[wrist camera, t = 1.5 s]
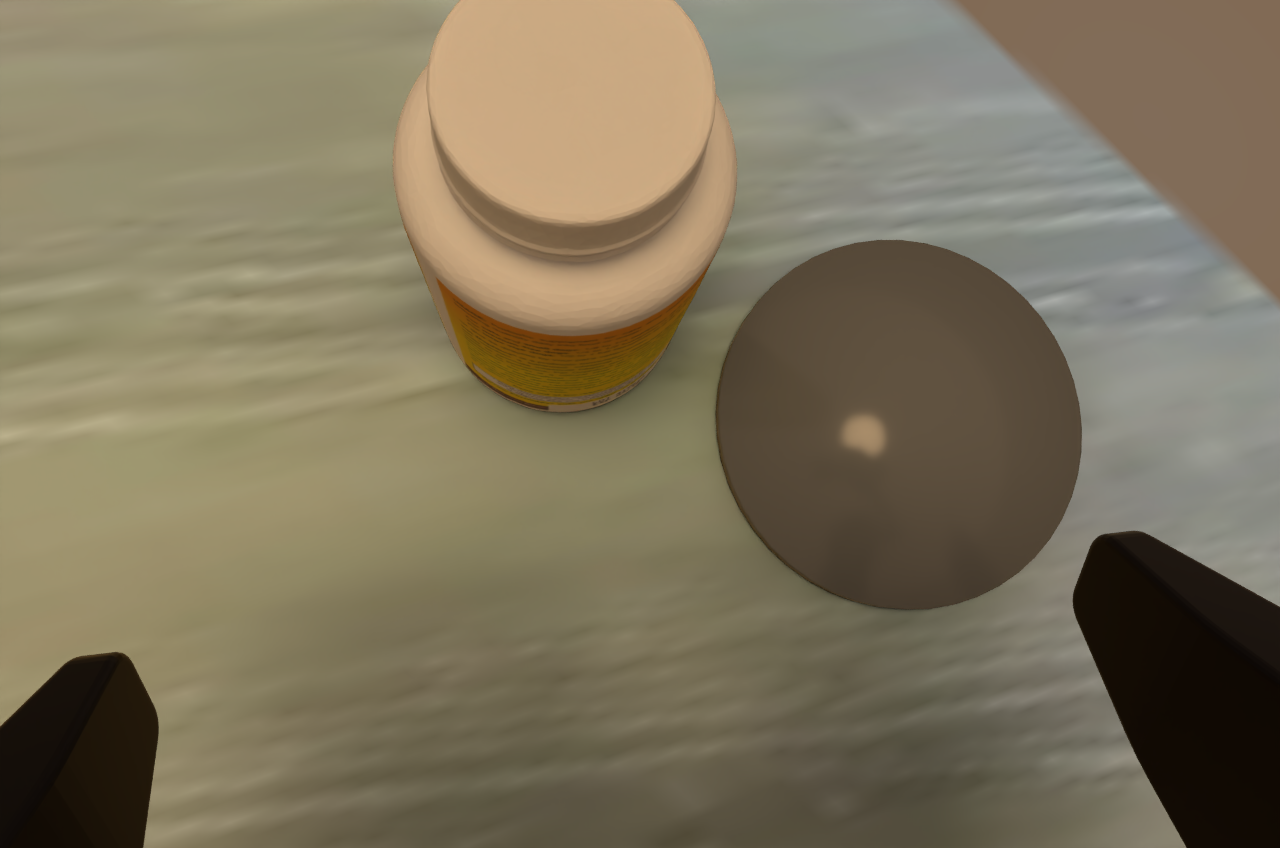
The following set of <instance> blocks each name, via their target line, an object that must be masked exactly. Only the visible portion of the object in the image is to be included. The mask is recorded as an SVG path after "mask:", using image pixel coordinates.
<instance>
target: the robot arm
mask: <svg viewBox="0 0 1280 848" xmlns="http://www.w3.org/2000/svg"><path fill="white" fill-rule="evenodd" d="M1073 608H1074V613H1075V616H1076V619H1077V621H1078V624H1079V626H1080V628H1081V631H1082V633H1083V635H1084V638H1085V640H1086V642H1087V645H1088V647H1089V649H1090V652H1091V654H1092V656H1093V659H1094V661H1095V663H1096V666H1097V668H1098V670H1099V673H1100V675H1101V677H1102V680H1103V682H1104V684H1105V687H1106V689H1107V691H1108V693H1109V696H1110V698H1111V700H1112V703H1113V705H1114V707H1115V710H1116V712H1117V714H1118V717H1119V719H1120V721H1121V724H1122V726H1123V728H1124V731H1125V733H1126V735H1127V737H1128V739H1129V742H1130V744H1131V746H1132V748H1133V750H1134V752H1135V754H1136V756H1137V758H1138V760H1139V762H1140V764H1141V766H1142V768H1143V770H1144V772H1145V774H1146V775H1147V777H1148V779H1149V781H1150V783H1151V785H1152V786H1153V788H1154V790H1155V792H1156V794H1157V795H1158V797H1159V799H1160V801H1161V803H1162V804H1163V806H1164V808H1165V810H1166V812H1167V813H1168V815H1169V817H1170V819H1171V821H1172V822H1173V824H1174V826H1175V828H1176V830H1177V831H1178V833H1179V835H1180V837H1181V839H1182V840H1183V842H1184V844H1185V846H1186V848H1280V607H1279V606H1277V605H1275V604H1274V603H1272V602H1270V601H1268V600H1266V599H1265V598H1263V597H1261V596H1259V595H1257V594H1256V593H1254V592H1252V591H1250V590H1248V589H1246V588H1245V587H1243V586H1241V585H1239V584H1237V583H1236V582H1234V581H1232V580H1230V579H1228V578H1226V577H1225V576H1223V575H1221V574H1219V573H1217V572H1216V571H1214V570H1212V569H1210V568H1208V567H1206V566H1205V565H1203V564H1201V563H1199V562H1197V561H1196V560H1194V559H1192V558H1190V557H1188V556H1187V555H1185V554H1183V553H1181V552H1179V551H1177V550H1176V549H1174V548H1172V547H1170V546H1168V545H1167V544H1165V543H1163V542H1161V541H1159V540H1157V539H1156V538H1154V537H1152V536H1150V535H1148V534H1146V533H1144V532H1140V531H1126V532H1118V533H1109V534H1103V535H1100V536H1098V537H1097V538H1096V539H1095V540H1094V541H1093V542H1092V544H1091V546H1090V549H1089V552H1088V554H1087V557H1086V560H1085V562H1084V565H1083V568H1082V570H1081V573H1080V576H1079V578H1078V581H1077V584H1076V586H1075V589H1074V593H1073ZM158 734H159V725H158V717H157V713H156V710H155V707H154V705H153V703H152V701H151V699H150V697H149V695H148V693H147V691H146V689H145V687H144V685H143V683H142V681H141V679H140V677H139V675H138V673H137V671H136V669H135V667H134V665H133V663H132V661H131V660H130V658H129V657H128V656H126V655H125V654H123V653H119V652H112V653H103V654H95V655H87V656H79V657H76V658H73V659H71V660H70V661H68V662H67V663H65V664H64V665H63V666H62V667H61V668H60V669H59V670H58V671H57V672H56V673H55V674H54V675H53V676H52V677H51V678H50V679H49V680H48V681H46V682H45V683H44V684H43V685H42V686H41V687H40V688H39V689H38V690H37V691H36V692H35V693H34V694H33V695H32V696H31V697H30V698H29V699H28V700H27V701H26V702H25V703H24V704H23V705H22V706H21V707H20V708H19V709H18V710H17V711H16V712H15V713H14V714H13V715H12V716H11V717H9V718H8V719H7V720H6V721H5V722H4V723H3V724H2V725H1V726H0V848H143V845H144V838H145V831H146V823H147V816H148V809H149V801H150V794H151V787H152V780H153V772H154V765H155V758H156V750H157V743H158Z"/></svg>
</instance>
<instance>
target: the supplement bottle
mask: <svg viewBox="0 0 1280 848" xmlns="http://www.w3.org/2000/svg"><path fill="white" fill-rule="evenodd" d="M393 179H394V186H395V192H396V197H397V202H398V206H399V210H400V215H401V218H402V221H403V225H404V228H405V230H406V233H407V235H408V238H409V240H410V243H411V245H412V248H413V251H414V253H415V256H416V258H417V261H418V263H419V266H420V268H421V270H422V273H423V275H424V278H425V281H426V283H427V286H428V288H429V291H430V293H431V296H432V298H433V301H434V303H435V306H436V308H437V311H438V313H439V315H440V318H441V320H442V323H443V325H444V328H445V330H446V332H447V334H448V337H449V339H450V341H451V343H452V345H453V347H454V349H455V351H456V352H457V354H458V356H459V357H460V359H461V360H462V362H463V363H464V364H465V365H466V367H467V368H468V369H469V370H470V371H471V373H472V374H473V375H474V376H475V377H476V378H477V379H478V380H480V381H481V382H482V383H483V384H484V385H485V386H487V387H488V388H489V389H491V390H492V391H494V392H495V393H497V394H498V395H500V396H502V397H504V398H506V399H507V400H510V401H512V402H515V403H517V404H520V405H522V406H525V407H528V408H532V409H536V410H541V411H549V412H572V411H580V410H585V409H590V408H593V407H597V406H600V405H603V404H605V403H608V402H610V401H612V400H614V399H616V398H618V397H620V396H622V395H623V394H625V393H627V392H628V391H629V390H631V389H632V388H633V387H635V386H636V385H637V384H638V383H639V382H641V381H642V380H643V379H644V378H645V377H646V376H647V375H648V374H649V372H650V371H651V370H652V369H653V368H654V366H655V365H656V364H657V362H658V361H659V359H660V358H661V356H662V355H663V353H664V352H665V350H666V349H667V347H668V345H669V342H670V340H671V338H672V336H673V334H674V332H675V331H676V329H677V327H678V325H679V323H680V321H681V319H682V317H683V316H684V314H685V312H686V310H687V308H688V306H689V304H690V303H691V301H692V299H693V297H694V295H695V293H696V291H697V289H698V287H699V285H700V283H701V281H702V279H703V277H704V275H705V273H706V272H707V270H708V268H709V266H710V264H711V262H712V260H713V258H714V256H715V254H716V252H717V250H718V248H719V246H720V244H721V242H722V240H723V237H724V235H725V232H726V229H727V227H728V224H729V221H730V218H731V214H732V210H733V206H734V202H735V195H736V186H737V160H736V151H735V145H734V140H733V135H732V132H731V128H730V125H729V122H728V119H727V116H726V114H725V111H724V109H723V107H722V104H721V102H720V100H719V98H718V96H717V94H716V93H715V81H714V75H713V69H712V65H711V62H710V58H709V55H708V52H707V50H706V47H705V44H704V42H703V40H702V38H701V36H700V34H699V33H698V31H697V29H696V27H695V25H694V24H693V22H692V21H691V20H690V18H689V17H688V16H687V14H686V13H685V12H684V11H683V9H682V8H681V7H680V6H679V5H678V4H677V3H676V2H675V1H674V0H460V1H459V2H458V3H457V4H456V5H455V7H454V8H453V9H452V11H451V12H450V14H449V15H448V16H447V18H446V20H445V21H444V23H443V25H442V26H441V29H440V31H439V33H438V35H437V37H436V39H435V42H434V45H433V48H432V51H431V54H430V58H429V63H428V65H427V66H426V68H425V69H424V70H423V72H422V73H421V74H420V76H419V77H418V79H417V80H416V82H415V84H414V86H413V87H412V89H411V91H410V93H409V95H408V97H407V100H406V102H405V104H404V107H403V110H402V113H401V115H400V119H399V122H398V126H397V130H396V136H395V141H394V149H393Z"/></svg>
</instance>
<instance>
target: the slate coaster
mask: <svg viewBox="0 0 1280 848" xmlns="http://www.w3.org/2000/svg"><path fill="white" fill-rule="evenodd" d="M716 431H717V441H718V447H719V452H720V458H721V463H722V466H723V469H724V472H725V475H726V479H727V482H728V485H729V487H730V489H731V491H732V494H733V496H734V498H735V500H736V502H737V504H738V507H739V508H740V510H741V512H742V513H743V515H744V516H745V518H746V520H747V521H748V523H749V524H750V526H751V528H752V529H753V530H754V532H755V533H756V534H757V535H758V536H759V538H760V539H761V540H762V541H763V543H764V544H765V545H766V546H767V547H768V549H770V550H771V551H772V552H773V553H774V554H775V555H776V556H777V557H778V558H779V559H780V560H781V561H782V562H783V563H784V564H785V565H787V566H788V567H789V568H791V569H792V570H793V571H795V572H796V573H798V574H799V575H800V576H802V577H803V578H804V579H806V580H807V581H809V582H811V583H813V584H815V585H817V586H818V587H820V588H822V589H824V590H826V591H828V592H830V593H833V594H835V595H838V596H840V597H843V598H846V599H848V600H851V601H855V602H859V603H863V604H867V605H871V606H877V607H887V608H897V609H930V608H937V607H942V606H948V605H953V604H957V603H960V602H963V601H966V600H969V599H972V598H975V597H978V596H980V595H982V594H984V593H986V592H988V591H990V590H992V589H994V588H996V587H998V586H1000V585H1001V584H1003V583H1004V582H1005V581H1007V580H1008V579H1010V578H1011V577H1013V576H1014V575H1016V574H1017V573H1018V572H1020V571H1021V570H1022V569H1023V568H1024V567H1025V566H1026V565H1027V564H1028V563H1029V562H1030V561H1031V560H1032V559H1034V558H1035V557H1036V555H1037V554H1038V553H1039V552H1040V551H1041V549H1042V548H1043V547H1044V546H1045V544H1046V543H1047V542H1048V541H1049V539H1050V538H1051V536H1052V535H1053V533H1054V531H1055V530H1056V528H1057V527H1058V525H1059V523H1060V522H1061V520H1062V518H1063V516H1064V514H1065V511H1066V509H1067V507H1068V504H1069V502H1070V500H1071V497H1072V494H1073V490H1074V487H1075V483H1076V480H1077V476H1078V471H1079V464H1080V457H1081V441H1082V426H1081V416H1080V407H1079V401H1078V397H1077V393H1076V389H1075V384H1074V380H1073V378H1072V375H1071V372H1070V370H1069V367H1068V364H1067V361H1066V359H1065V357H1064V355H1063V353H1062V351H1061V349H1060V347H1059V345H1058V343H1057V341H1056V339H1055V337H1054V336H1053V334H1052V333H1051V331H1050V330H1049V328H1048V327H1047V325H1046V324H1045V322H1044V321H1043V319H1042V318H1041V316H1040V315H1039V314H1038V313H1037V312H1036V311H1035V309H1034V308H1033V307H1032V306H1031V305H1030V304H1029V302H1028V301H1027V300H1026V299H1025V298H1024V297H1023V296H1022V295H1021V294H1019V293H1018V292H1017V291H1016V290H1015V289H1014V288H1013V287H1012V286H1011V285H1010V284H1009V283H1007V282H1006V281H1005V280H1003V279H1002V278H1000V277H999V276H998V275H996V274H995V273H993V272H992V271H991V270H989V269H988V268H986V267H984V266H982V265H980V264H978V263H977V262H975V261H973V260H971V259H969V258H967V257H965V256H962V255H960V254H957V253H955V252H952V251H950V250H947V249H944V248H940V247H936V246H933V245H929V244H925V243H918V242H911V241H903V240H876V241H868V242H860V243H854V244H850V245H847V246H843V247H839V248H835V249H832V250H830V251H828V252H825V253H823V254H820V255H818V256H816V257H813V258H811V259H810V260H808V261H806V262H805V263H803V264H801V265H800V266H798V267H796V268H794V269H793V270H792V271H790V272H789V273H788V274H787V275H785V276H784V277H783V278H782V279H780V280H779V281H778V282H776V283H775V284H774V285H773V286H772V287H771V288H770V289H769V291H768V292H767V293H766V294H765V295H764V296H763V297H762V298H761V299H760V300H759V301H758V302H757V304H756V305H755V306H754V308H753V309H752V311H751V312H750V313H749V315H748V316H747V317H746V319H745V320H744V322H743V323H742V324H741V326H740V328H739V330H738V332H737V334H736V336H735V338H734V339H733V341H732V343H731V345H730V348H729V351H728V354H727V356H726V359H725V362H724V364H723V368H722V372H721V377H720V381H719V386H718V392H717V404H716Z"/></svg>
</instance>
